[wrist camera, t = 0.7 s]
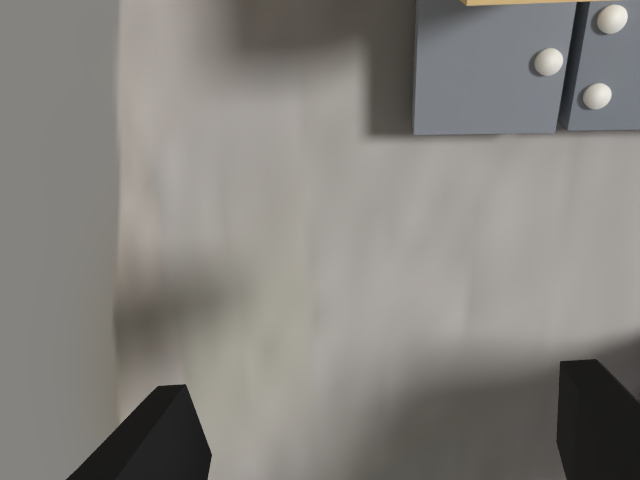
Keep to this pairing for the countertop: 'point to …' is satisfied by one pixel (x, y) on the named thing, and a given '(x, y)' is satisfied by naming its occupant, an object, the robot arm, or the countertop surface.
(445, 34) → the stub
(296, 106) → the countertop surface
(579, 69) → the grey studded panel
